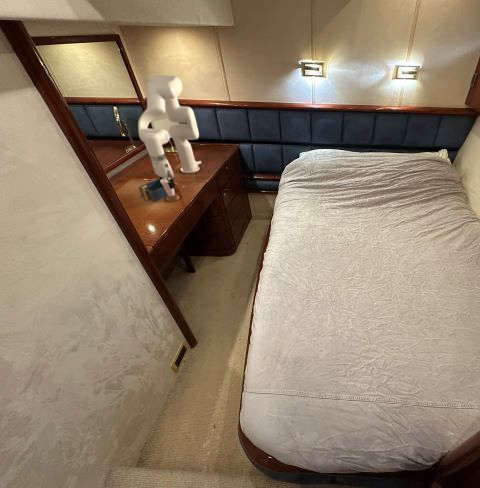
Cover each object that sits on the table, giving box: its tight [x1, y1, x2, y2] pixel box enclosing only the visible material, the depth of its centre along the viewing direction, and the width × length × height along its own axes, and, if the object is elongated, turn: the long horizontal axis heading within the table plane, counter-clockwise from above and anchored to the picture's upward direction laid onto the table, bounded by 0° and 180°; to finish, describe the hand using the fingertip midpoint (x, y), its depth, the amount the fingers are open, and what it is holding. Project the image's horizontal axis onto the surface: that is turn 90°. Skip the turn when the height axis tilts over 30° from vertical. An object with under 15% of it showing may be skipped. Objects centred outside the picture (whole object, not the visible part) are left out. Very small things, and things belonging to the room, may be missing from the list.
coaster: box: [165, 194, 180, 203], centre depth 161 cm, size 8×8×1 cm
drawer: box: [137, 178, 177, 202], centre depth 161 cm, size 16×12×8 cm
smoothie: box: [160, 178, 176, 197], centre depth 155 cm, size 6×6×14 cm
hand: (168, 186), depth 156 cm, fingers closed on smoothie, 6 cm apart
